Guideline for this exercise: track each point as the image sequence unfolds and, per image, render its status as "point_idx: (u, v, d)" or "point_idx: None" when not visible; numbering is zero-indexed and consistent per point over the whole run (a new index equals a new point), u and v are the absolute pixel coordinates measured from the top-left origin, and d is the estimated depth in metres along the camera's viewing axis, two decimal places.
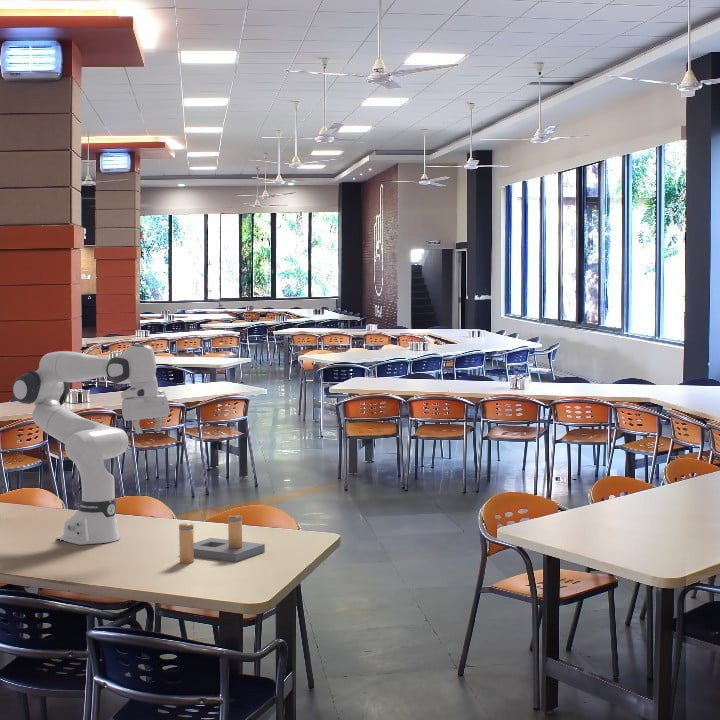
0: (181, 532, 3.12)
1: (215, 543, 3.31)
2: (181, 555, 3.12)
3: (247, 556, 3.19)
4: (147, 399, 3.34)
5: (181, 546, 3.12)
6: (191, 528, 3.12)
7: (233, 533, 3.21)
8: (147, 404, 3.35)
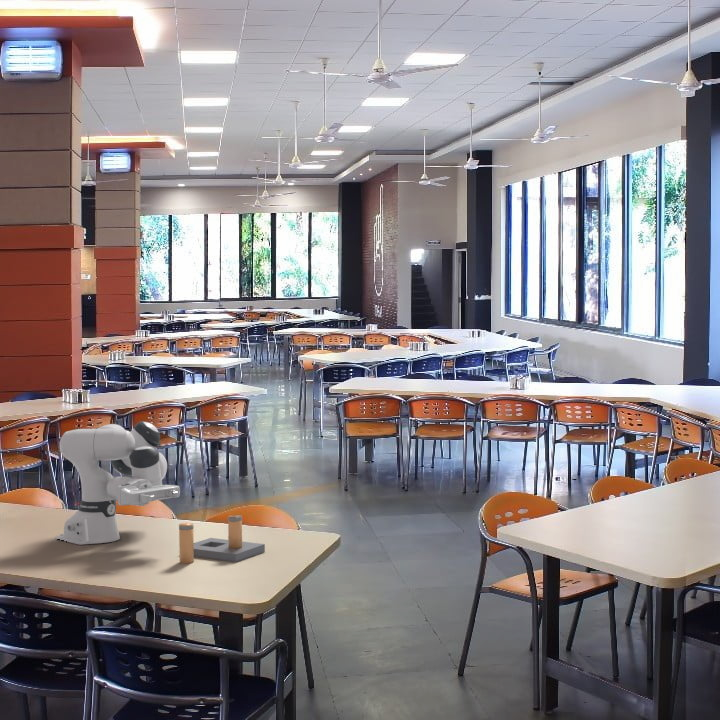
0: (181, 532, 3.12)
1: (215, 543, 3.31)
2: (181, 555, 3.12)
3: (247, 556, 3.19)
4: (139, 486, 3.28)
5: (181, 546, 3.12)
6: (191, 528, 3.12)
7: (233, 533, 3.21)
8: (145, 489, 3.27)
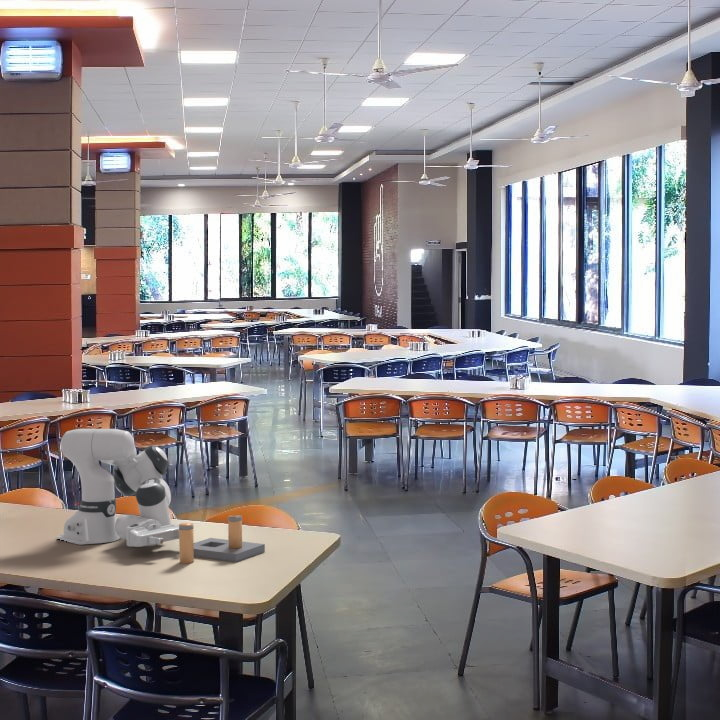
0: (181, 532, 3.12)
1: (215, 543, 3.31)
2: (181, 555, 3.12)
3: (247, 556, 3.19)
4: (148, 527, 3.27)
5: (181, 546, 3.12)
6: (191, 528, 3.12)
7: (233, 533, 3.21)
8: (154, 530, 3.26)
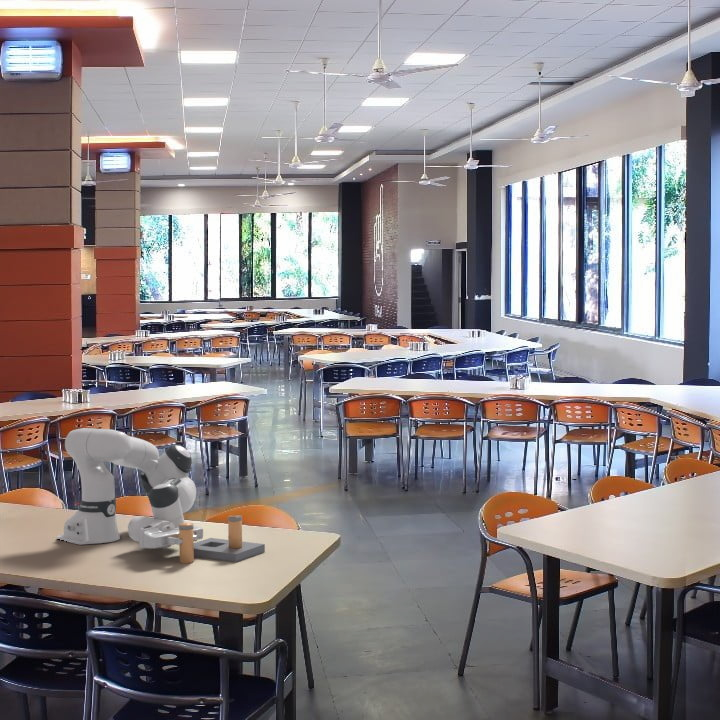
0: (181, 532, 3.12)
1: (215, 543, 3.31)
2: (181, 555, 3.12)
3: (247, 556, 3.19)
4: (162, 528, 3.19)
5: (181, 546, 3.12)
6: (191, 528, 3.12)
7: (233, 533, 3.21)
8: (168, 531, 3.19)
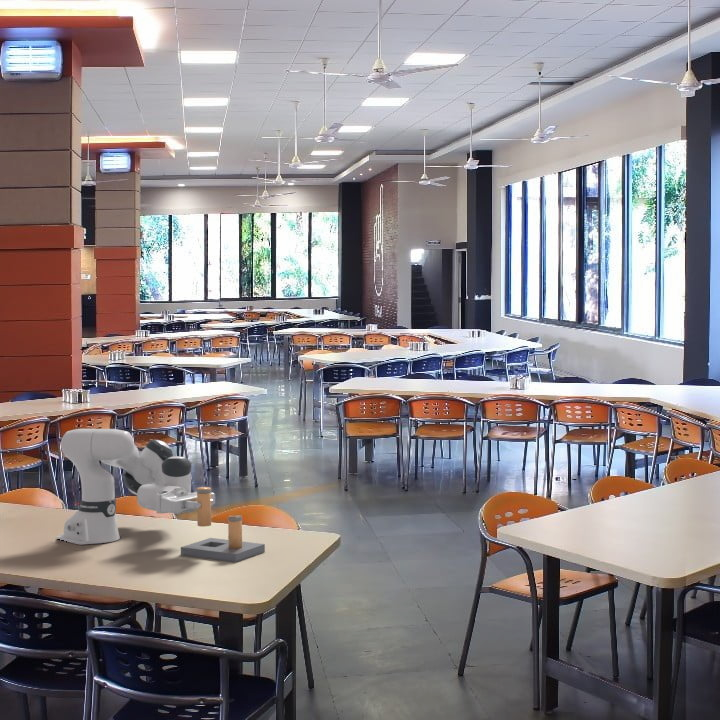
0: (200, 496, 3.20)
1: (215, 543, 3.31)
2: (200, 518, 3.20)
3: (247, 556, 3.19)
4: (177, 493, 3.26)
5: (200, 509, 3.20)
6: (209, 492, 3.21)
7: (233, 533, 3.21)
8: (183, 496, 3.26)
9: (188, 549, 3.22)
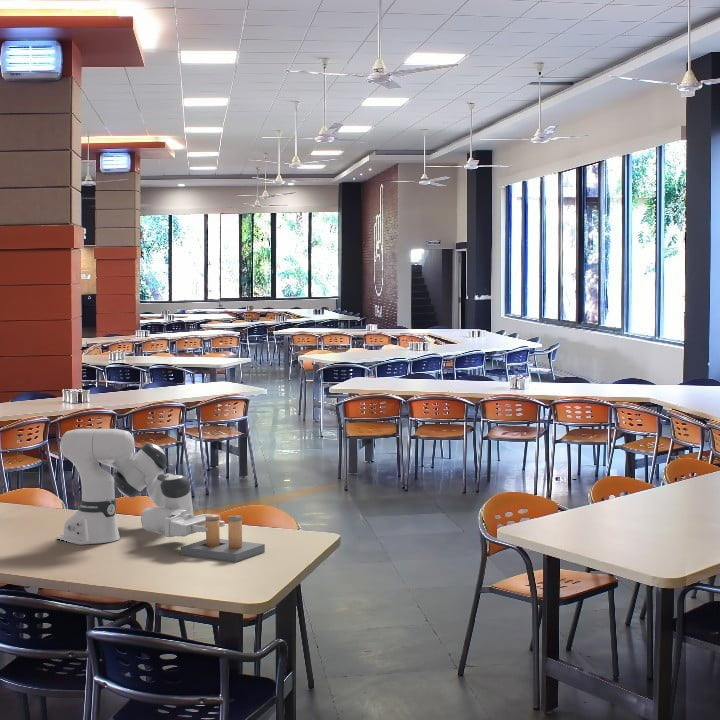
0: (209, 523, 3.25)
1: None
2: (209, 545, 3.25)
3: (247, 556, 3.19)
4: (184, 517, 3.30)
5: (209, 537, 3.25)
6: (218, 519, 3.26)
7: (233, 533, 3.21)
8: (190, 520, 3.30)
9: (188, 549, 3.22)
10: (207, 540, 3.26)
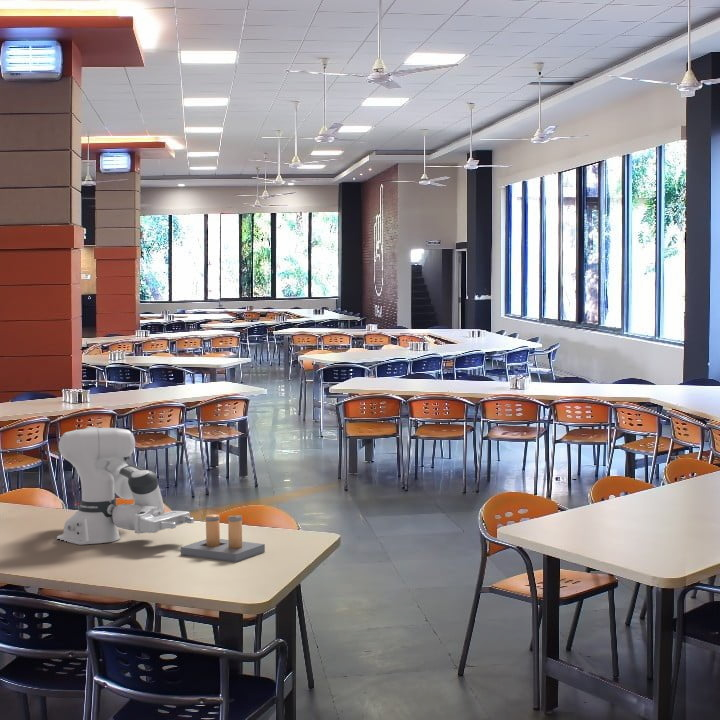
0: (209, 523, 3.25)
1: None
2: (209, 545, 3.25)
3: (247, 556, 3.19)
4: (154, 514, 3.37)
5: (209, 537, 3.25)
6: (218, 519, 3.27)
7: (233, 533, 3.21)
8: (160, 516, 3.37)
9: (188, 549, 3.22)
10: (207, 540, 3.26)
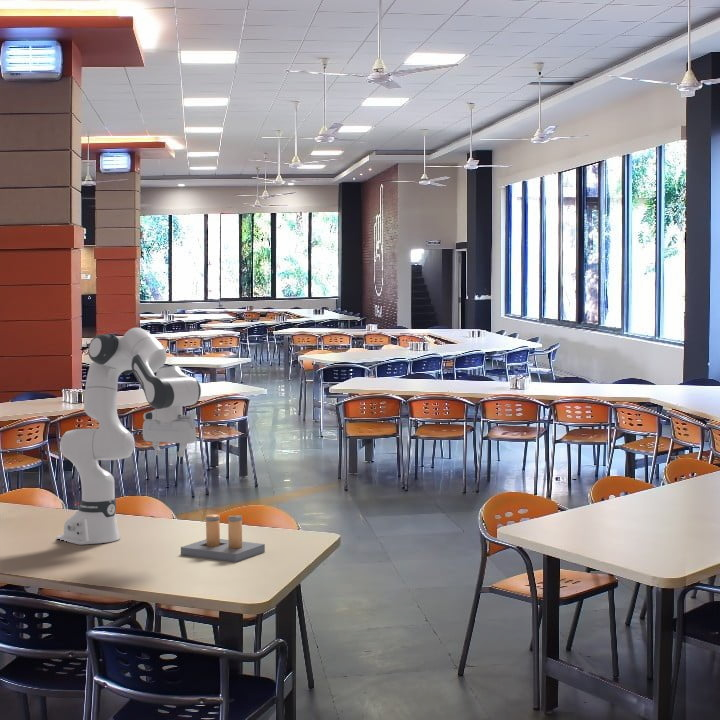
0: (209, 523, 3.25)
1: None
2: (209, 545, 3.25)
3: (247, 556, 3.19)
4: (159, 423, 3.31)
5: (209, 537, 3.25)
6: (218, 519, 3.26)
7: (233, 533, 3.21)
8: (163, 428, 3.31)
9: (188, 549, 3.22)
10: (207, 540, 3.26)
